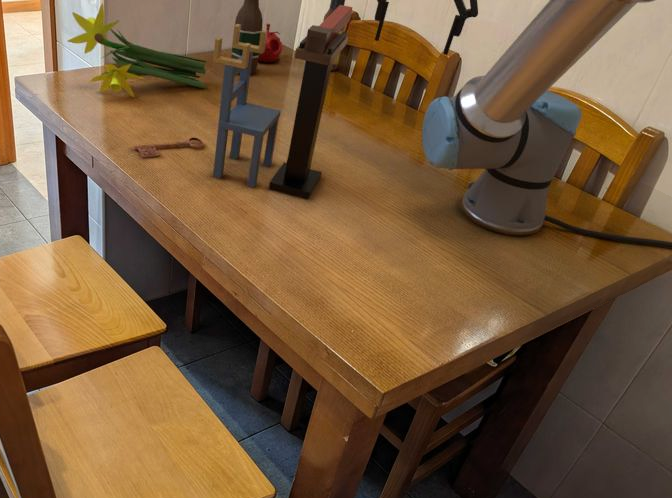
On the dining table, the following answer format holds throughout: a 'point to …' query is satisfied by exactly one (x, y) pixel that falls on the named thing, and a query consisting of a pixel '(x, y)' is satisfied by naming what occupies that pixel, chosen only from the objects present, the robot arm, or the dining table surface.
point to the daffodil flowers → (135, 58)
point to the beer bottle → (249, 29)
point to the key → (153, 146)
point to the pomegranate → (271, 47)
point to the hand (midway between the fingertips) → (410, 45)
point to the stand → (307, 121)
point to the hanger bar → (327, 30)
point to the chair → (242, 109)
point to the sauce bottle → (335, 3)
